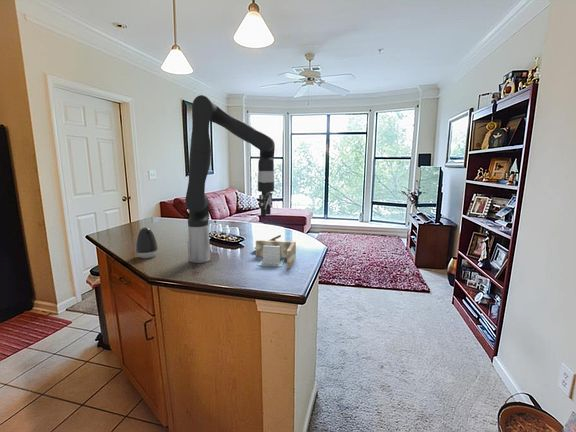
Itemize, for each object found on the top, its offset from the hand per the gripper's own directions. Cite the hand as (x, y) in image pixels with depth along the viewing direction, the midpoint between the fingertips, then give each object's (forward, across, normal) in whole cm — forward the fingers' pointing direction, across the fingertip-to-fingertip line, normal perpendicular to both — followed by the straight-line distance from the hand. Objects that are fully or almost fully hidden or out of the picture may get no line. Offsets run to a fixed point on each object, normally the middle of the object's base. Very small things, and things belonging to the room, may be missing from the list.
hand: (265, 216), depth 135 cm
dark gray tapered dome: (+23, +4, -60) cm, 65 cm away
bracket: (+22, +4, +4) cm, 22 cm away
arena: (+22, +1, +4) cm, 22 cm away
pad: (+22, +3, +4) cm, 22 cm away
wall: (+22, -20, -4) cm, 30 cm away
